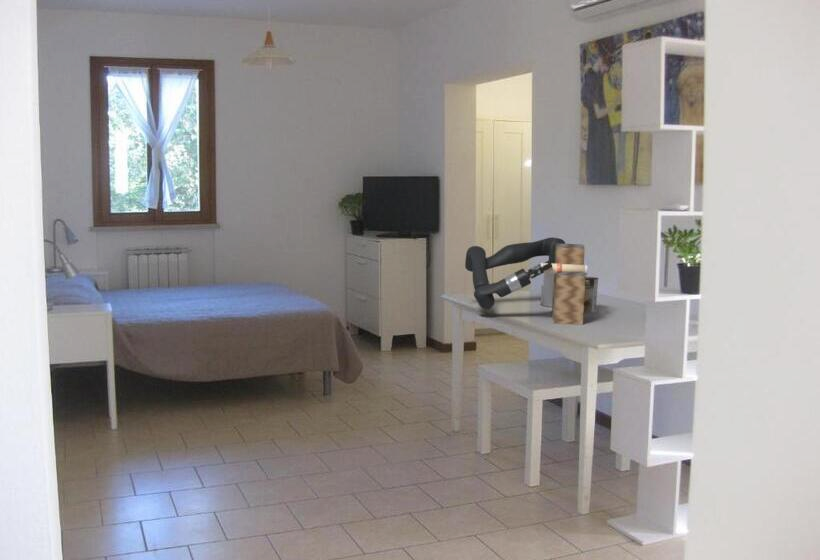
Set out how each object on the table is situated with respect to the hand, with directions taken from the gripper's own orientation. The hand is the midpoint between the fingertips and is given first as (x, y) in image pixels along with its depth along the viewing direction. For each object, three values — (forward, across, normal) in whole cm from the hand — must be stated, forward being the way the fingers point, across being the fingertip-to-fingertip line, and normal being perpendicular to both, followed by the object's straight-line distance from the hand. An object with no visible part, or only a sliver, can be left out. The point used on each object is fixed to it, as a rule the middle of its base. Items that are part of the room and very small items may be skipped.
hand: (551, 263), depth 384 cm
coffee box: (+4, -35, -32) cm, 48 cm away
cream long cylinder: (+3, 0, -7) cm, 7 cm away
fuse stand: (-5, -5, -26) cm, 27 cm away
